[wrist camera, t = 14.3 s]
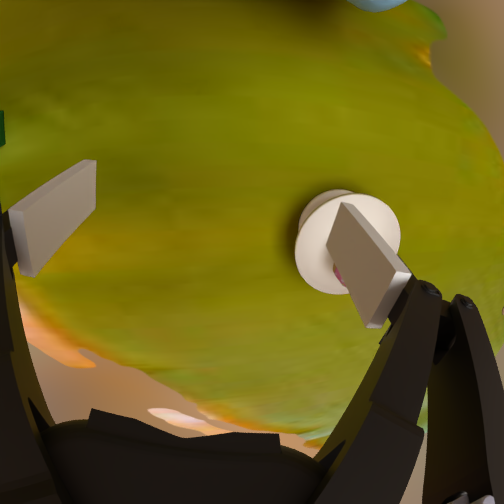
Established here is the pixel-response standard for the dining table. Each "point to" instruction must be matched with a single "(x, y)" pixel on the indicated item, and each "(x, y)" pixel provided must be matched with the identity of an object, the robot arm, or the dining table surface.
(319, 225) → the cake stand
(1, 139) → the milk carton
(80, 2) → the dining table surface
